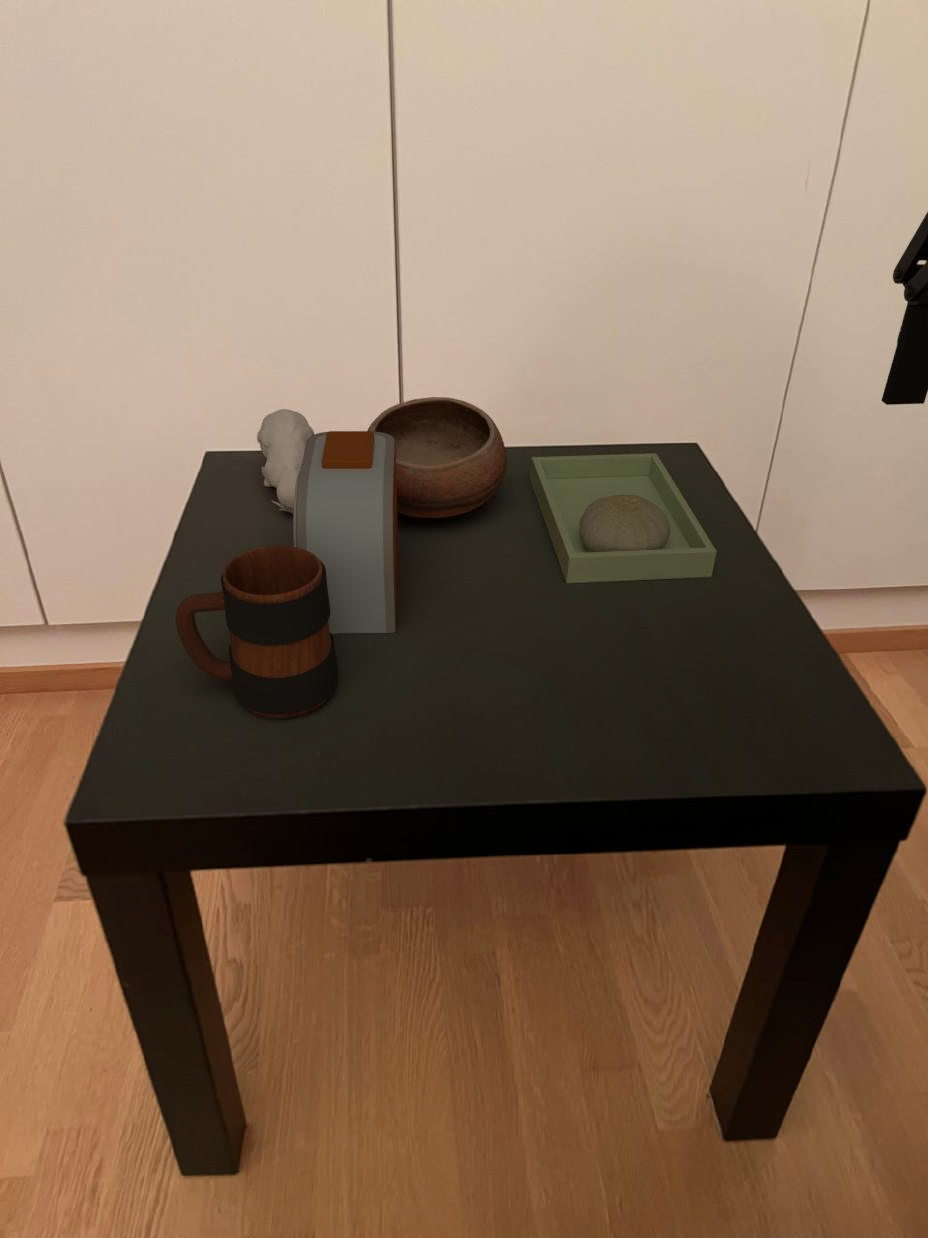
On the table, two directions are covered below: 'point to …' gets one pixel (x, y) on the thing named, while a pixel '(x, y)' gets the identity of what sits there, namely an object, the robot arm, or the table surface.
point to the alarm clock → (351, 525)
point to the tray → (588, 478)
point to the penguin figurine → (283, 452)
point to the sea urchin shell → (624, 525)
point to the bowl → (443, 455)
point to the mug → (269, 631)
